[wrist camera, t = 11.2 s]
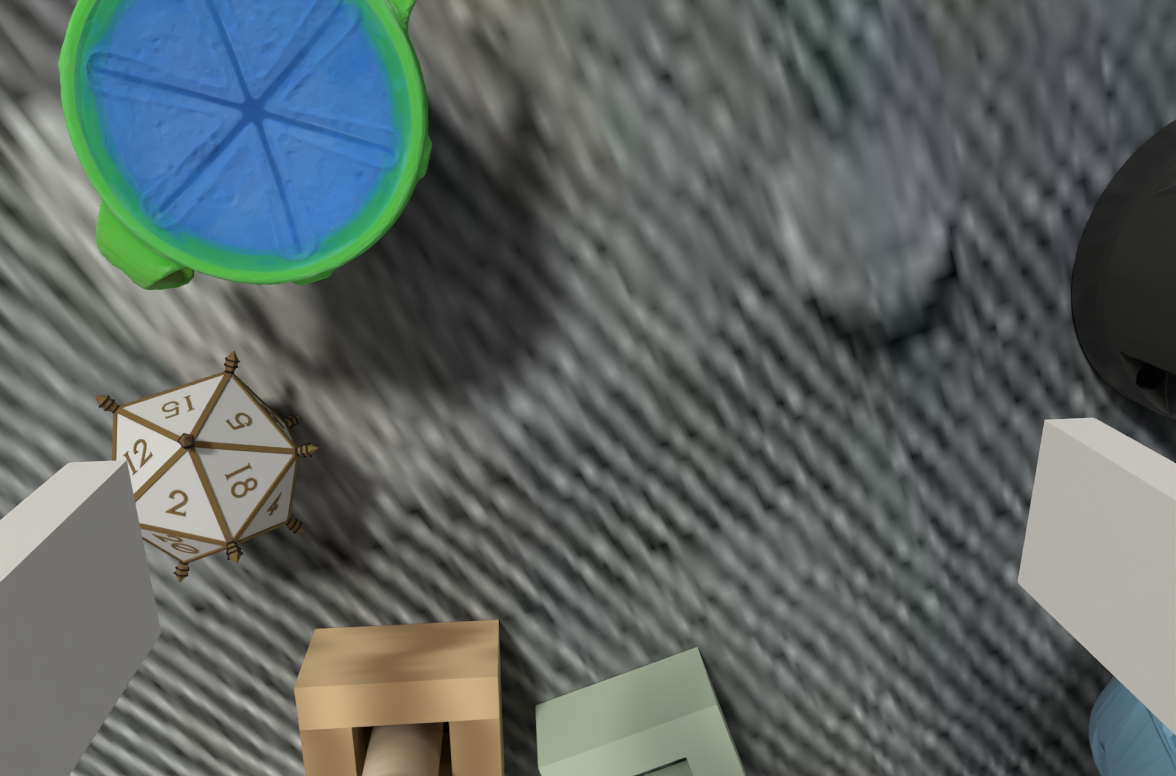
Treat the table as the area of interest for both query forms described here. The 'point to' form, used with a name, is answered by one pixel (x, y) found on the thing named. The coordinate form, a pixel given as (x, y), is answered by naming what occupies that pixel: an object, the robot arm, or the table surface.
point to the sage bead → (639, 725)
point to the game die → (207, 466)
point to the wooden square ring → (402, 693)
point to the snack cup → (244, 132)
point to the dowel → (404, 750)
